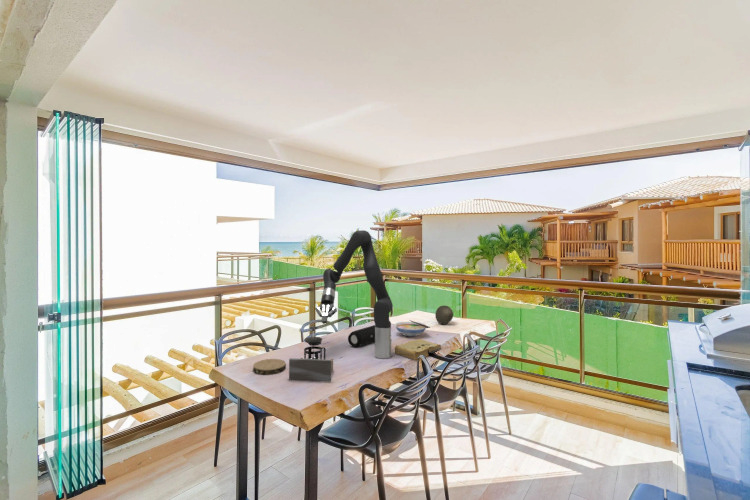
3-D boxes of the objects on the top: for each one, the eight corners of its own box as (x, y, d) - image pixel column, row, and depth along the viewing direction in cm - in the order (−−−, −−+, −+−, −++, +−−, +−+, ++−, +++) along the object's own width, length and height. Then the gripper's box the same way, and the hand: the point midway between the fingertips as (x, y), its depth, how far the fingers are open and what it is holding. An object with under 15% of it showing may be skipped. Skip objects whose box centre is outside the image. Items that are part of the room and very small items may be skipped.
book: (415, 362, 198) (415, 351, 198) (393, 354, 211) (393, 344, 210) (442, 352, 215) (442, 343, 215) (420, 346, 228) (420, 337, 227)
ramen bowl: (388, 332, 259) (388, 321, 259) (415, 329, 269) (415, 319, 269) (405, 341, 237) (405, 329, 237) (434, 338, 246) (434, 326, 246)
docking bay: (297, 369, 184) (297, 350, 183) (336, 370, 182) (336, 351, 182) (289, 380, 169) (289, 359, 169) (330, 381, 168) (330, 360, 168)
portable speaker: (358, 349, 219) (358, 333, 219) (346, 346, 225) (346, 330, 225) (383, 340, 239) (383, 325, 239) (371, 337, 245) (371, 323, 245)
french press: (306, 377, 173) (306, 330, 172) (299, 371, 181) (299, 326, 180) (328, 373, 179) (329, 327, 178) (320, 367, 187) (321, 323, 186)
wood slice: (289, 372, 180) (289, 366, 180) (257, 377, 172) (257, 371, 172) (280, 362, 194) (280, 357, 194) (250, 367, 186) (250, 361, 186)
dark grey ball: (435, 325, 283) (435, 307, 282) (435, 321, 297) (435, 303, 296) (453, 326, 280) (453, 307, 280) (452, 322, 294) (452, 304, 294)
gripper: (316, 293, 207) (310, 319, 195) (338, 293, 206) (334, 319, 194) (318, 301, 213) (313, 326, 201) (340, 301, 212) (336, 326, 200)
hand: (323, 322), depth 198 cm, fingers closed
